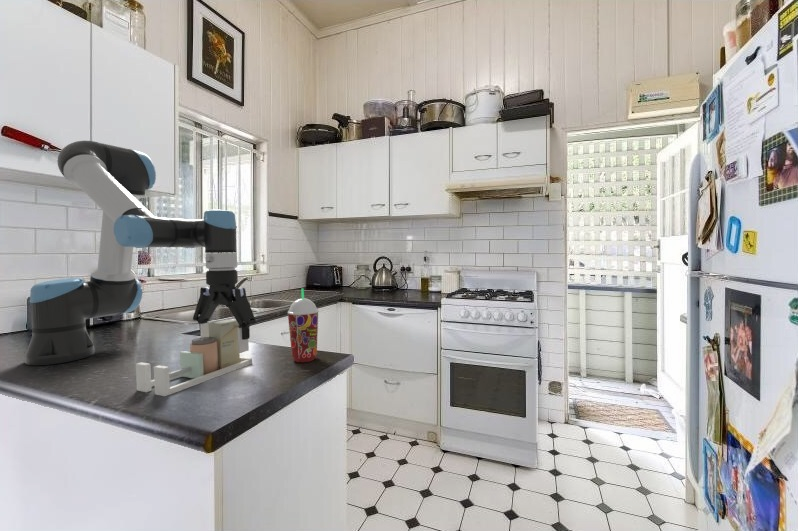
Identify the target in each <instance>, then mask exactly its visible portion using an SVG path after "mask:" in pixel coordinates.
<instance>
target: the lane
mask: <svg viewBox="0 0 798 531" xmlns="http://www.w3.org/2000/svg"><path fill="white" fill-rule="evenodd" d="M251 363H252V364H253V358H252V357H245V356H240V362H239V363H236V364H234V365H231V366H228V367H225V368H222V369H220V370H217V371H214V372H211V373H208V374H206V375H203V376H200V377H197V378H191V379H189V380H186V381H184V382H181V383H178V384H175V385H173V386H171V384H170V381H173V380H177V379H179V378H181V377H182V376H181V375H179V376H176V377H173V378H169V373H170V367H169V366H167V365H166V366H165V365H159V364H158V365H156V366H153V376H154V377H153V379H152V370H151V369H152V367H151V363H149V362H137V363H135V375H136V376H135V378H136V379H135V380H136V391H139V392H142V393H149V392H151V391H152V388H153V387H154V395H155V396H162V397H167V396H170V395H172V394H175V393H178V392H180V391H184V390H186V389H188V388H191V387H194V386H197V385H199V384H202V383H204V382H208V381H210V380H212V379H215V378H218V377H220V376H223V375H226V374H228V373H231V372H233V371H237V370H239V369H241V367H242V368H244V367H243V366H245V367H247V366H250V365H252V364H251ZM249 364H250V365H249ZM246 365H247V366H246ZM236 369H237V370H236Z"/></svg>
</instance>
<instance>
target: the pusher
mask: <svg viewBox="0 0 798 531" xmlns="http://www.w3.org/2000/svg"><path fill="white" fill-rule="evenodd" d="M179 355H180V356H179V358H180V361H179V362H180V368H179V369H177V370H173V371H171V372H170V371H169V378H173V377H176V376H179V375H181V376H182V377H183V378H190V379H194V378H197V377H200V376H203V375H204V374H203V353H195V352H190V351H187V350H182V351H180V352H179Z"/></svg>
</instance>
